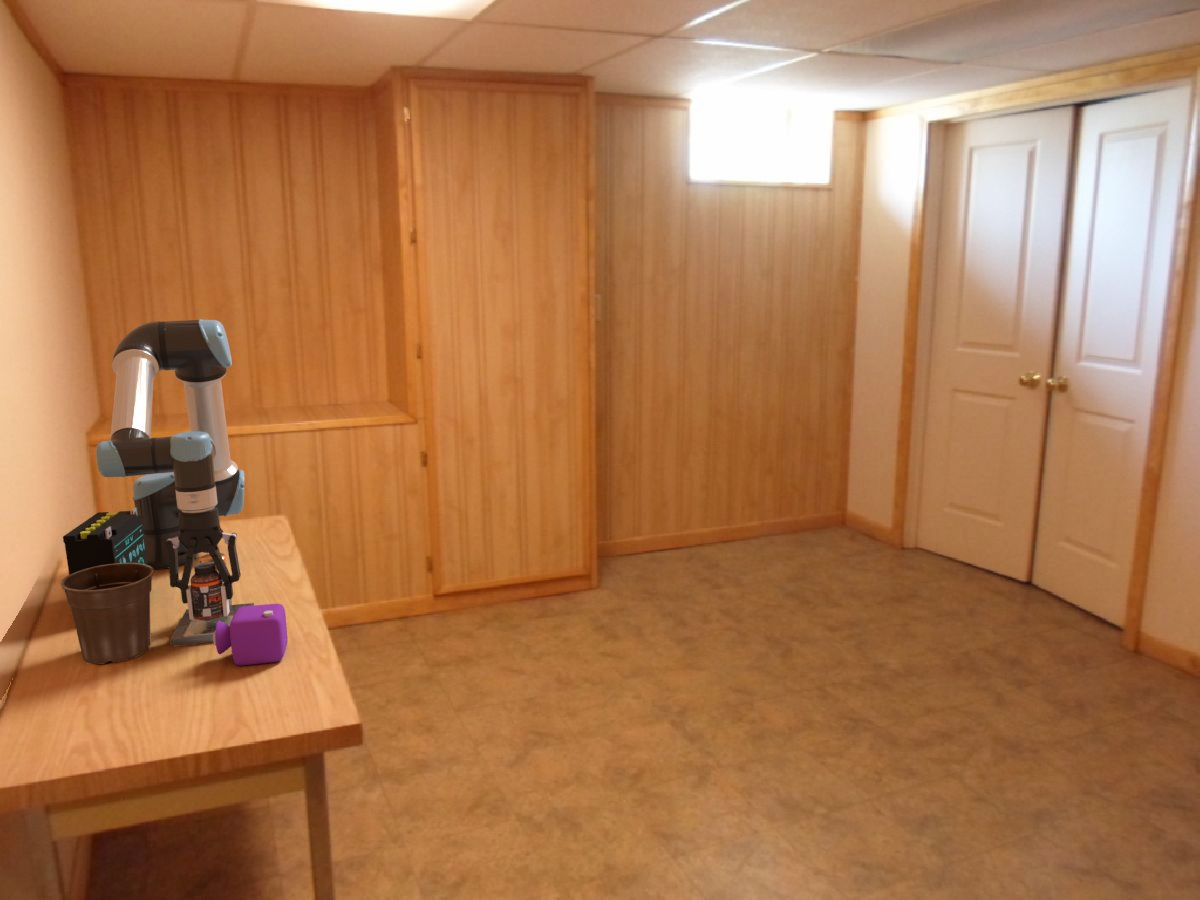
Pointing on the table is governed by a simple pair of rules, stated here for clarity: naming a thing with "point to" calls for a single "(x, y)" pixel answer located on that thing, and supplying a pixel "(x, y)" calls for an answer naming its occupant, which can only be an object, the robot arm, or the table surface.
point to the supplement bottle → (206, 592)
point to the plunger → (209, 559)
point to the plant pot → (111, 610)
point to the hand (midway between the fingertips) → (209, 615)
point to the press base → (200, 627)
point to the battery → (106, 541)
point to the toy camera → (254, 634)
